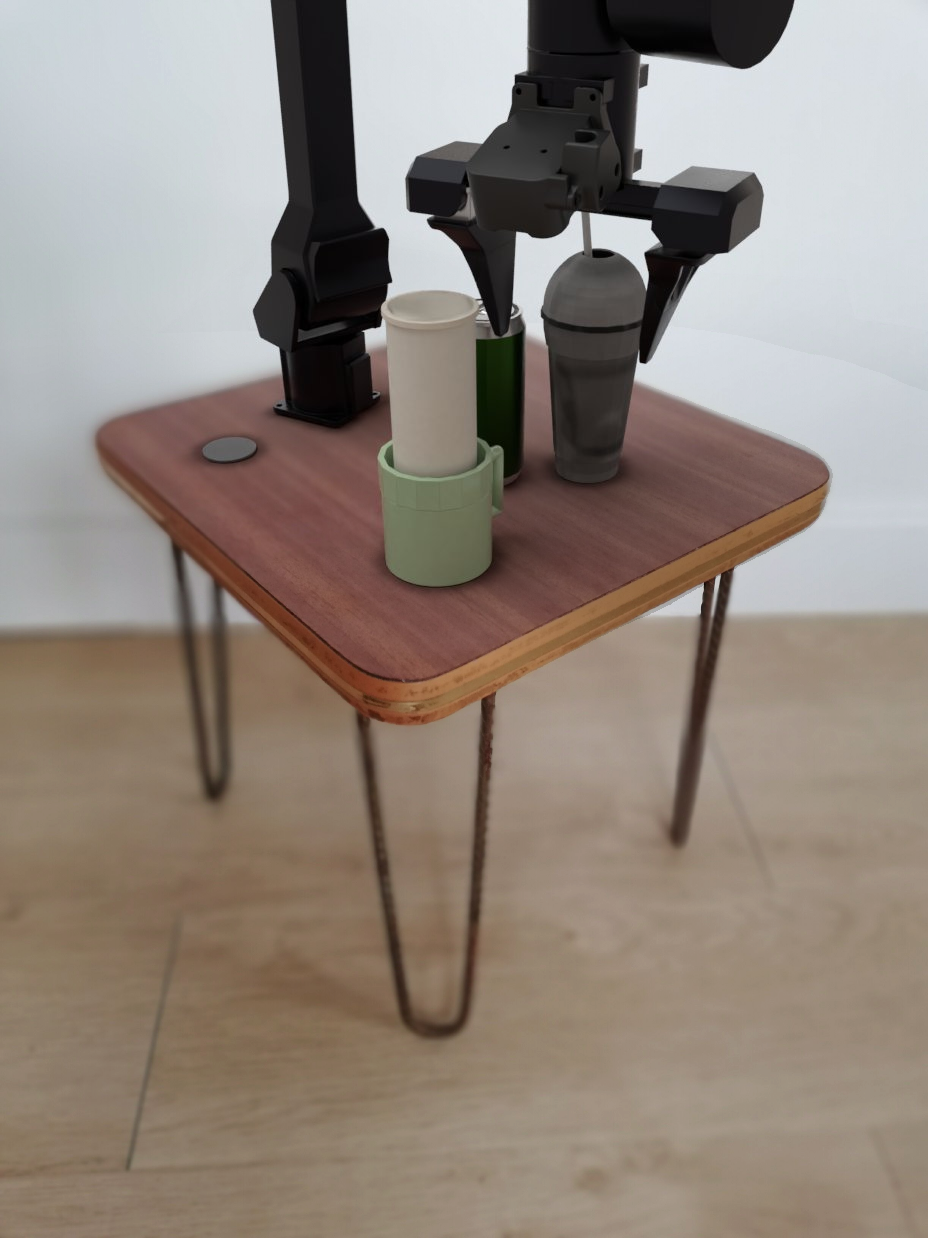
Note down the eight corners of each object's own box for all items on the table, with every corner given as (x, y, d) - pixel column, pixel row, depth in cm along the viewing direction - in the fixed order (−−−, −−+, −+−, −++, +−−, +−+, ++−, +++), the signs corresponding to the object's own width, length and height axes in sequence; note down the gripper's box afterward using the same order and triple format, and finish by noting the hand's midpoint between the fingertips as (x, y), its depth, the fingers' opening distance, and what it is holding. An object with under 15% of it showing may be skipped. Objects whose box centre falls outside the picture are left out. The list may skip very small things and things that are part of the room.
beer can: (496, 497, 75) (496, 329, 69) (434, 477, 78) (428, 313, 71) (537, 467, 79) (541, 305, 72) (477, 449, 82) (475, 290, 75)
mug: (428, 600, 65) (424, 492, 61) (364, 554, 70) (356, 451, 65) (536, 550, 70) (538, 447, 65) (468, 511, 74) (467, 411, 70)
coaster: (191, 455, 82) (191, 453, 81) (226, 435, 84) (226, 432, 84) (233, 467, 80) (232, 464, 80) (267, 446, 83) (266, 443, 83)
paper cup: (374, 492, 65) (361, 312, 59) (422, 456, 69) (414, 284, 63) (451, 513, 63) (446, 329, 57) (496, 475, 67) (496, 298, 61)
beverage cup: (633, 496, 75) (658, 195, 64) (529, 487, 77) (535, 191, 65) (640, 450, 81) (664, 166, 70) (543, 442, 82) (551, 163, 71)
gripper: (337, 58, 52) (360, 366, 61) (709, 85, 45) (673, 433, 54) (453, 29, 60) (459, 306, 69) (787, 48, 52) (744, 357, 61)
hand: (571, 347), depth 63 cm, fingers open, 9 cm apart
